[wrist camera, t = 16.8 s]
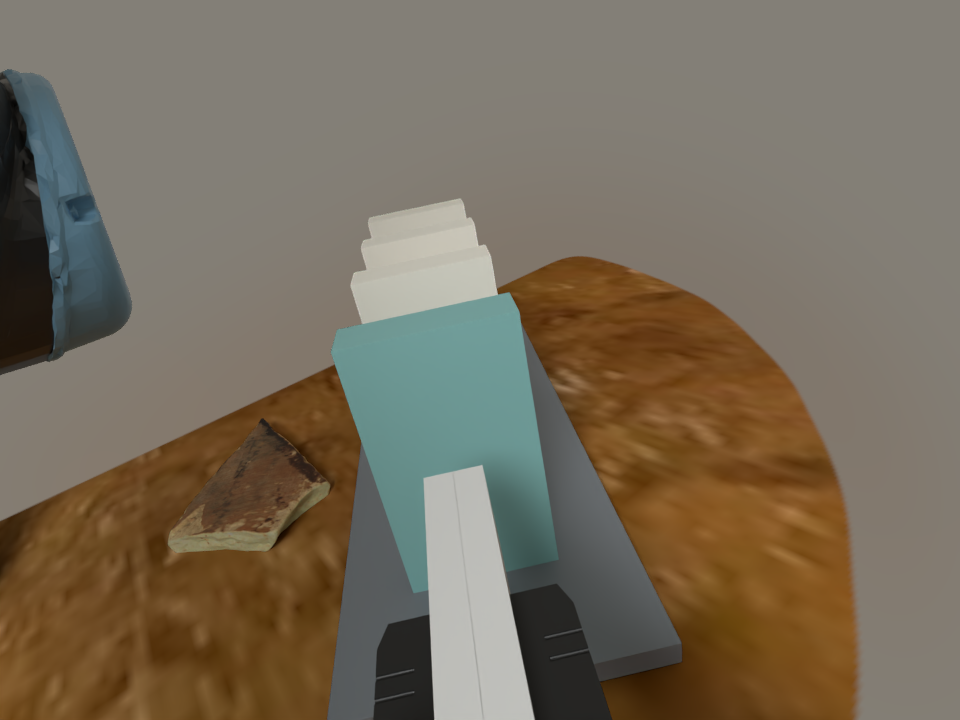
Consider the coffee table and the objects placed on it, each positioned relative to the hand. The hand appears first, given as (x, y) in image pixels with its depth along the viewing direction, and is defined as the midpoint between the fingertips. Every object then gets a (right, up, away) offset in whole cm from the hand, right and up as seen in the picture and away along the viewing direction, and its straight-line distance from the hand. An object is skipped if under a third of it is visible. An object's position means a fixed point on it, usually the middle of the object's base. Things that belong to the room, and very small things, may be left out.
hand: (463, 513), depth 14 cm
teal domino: (+1, -4, +9) cm, 10 cm away
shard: (-13, -5, +18) cm, 23 cm away
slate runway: (0, -2, +17) cm, 17 cm away
